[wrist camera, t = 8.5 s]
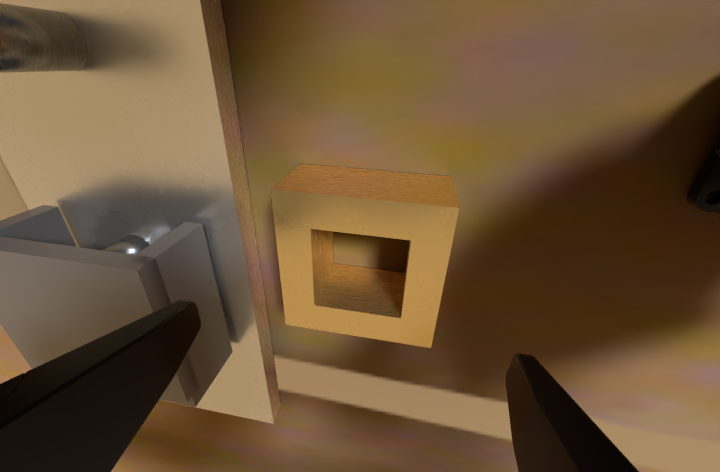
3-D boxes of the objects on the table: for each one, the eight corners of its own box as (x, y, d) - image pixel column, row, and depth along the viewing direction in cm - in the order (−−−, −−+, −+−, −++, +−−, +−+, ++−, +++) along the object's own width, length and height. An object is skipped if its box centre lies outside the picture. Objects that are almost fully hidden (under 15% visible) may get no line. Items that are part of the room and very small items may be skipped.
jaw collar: (452, 176, 12) (459, 207, 9) (429, 298, 15) (430, 348, 12) (301, 163, 13) (270, 189, 10) (308, 281, 16) (285, 324, 13)
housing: (202, 223, 13) (137, 270, 10) (232, 351, 17) (191, 413, 14) (43, 204, 14) (-58, 242, 11) (104, 329, 18) (41, 381, 15)
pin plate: (197, -160, 9) (-79, -429, 4) (280, 406, 21) (239, 505, 17) (-107, -139, 10) (-571, -314, 6) (138, 377, 23) (61, 461, 18)
